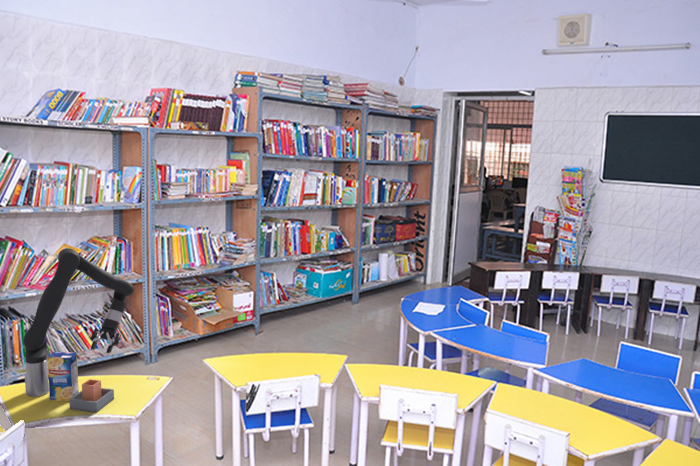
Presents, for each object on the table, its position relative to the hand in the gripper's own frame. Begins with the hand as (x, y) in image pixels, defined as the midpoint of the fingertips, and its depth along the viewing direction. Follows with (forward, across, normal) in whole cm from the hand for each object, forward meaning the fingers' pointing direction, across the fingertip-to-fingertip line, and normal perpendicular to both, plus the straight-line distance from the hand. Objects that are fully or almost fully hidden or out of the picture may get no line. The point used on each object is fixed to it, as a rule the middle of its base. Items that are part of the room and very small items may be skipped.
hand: (100, 351), depth 280 cm
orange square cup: (+23, +5, +1) cm, 24 cm away
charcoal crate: (+24, +6, +2) cm, 25 cm away
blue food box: (+24, -12, +4) cm, 27 cm away
